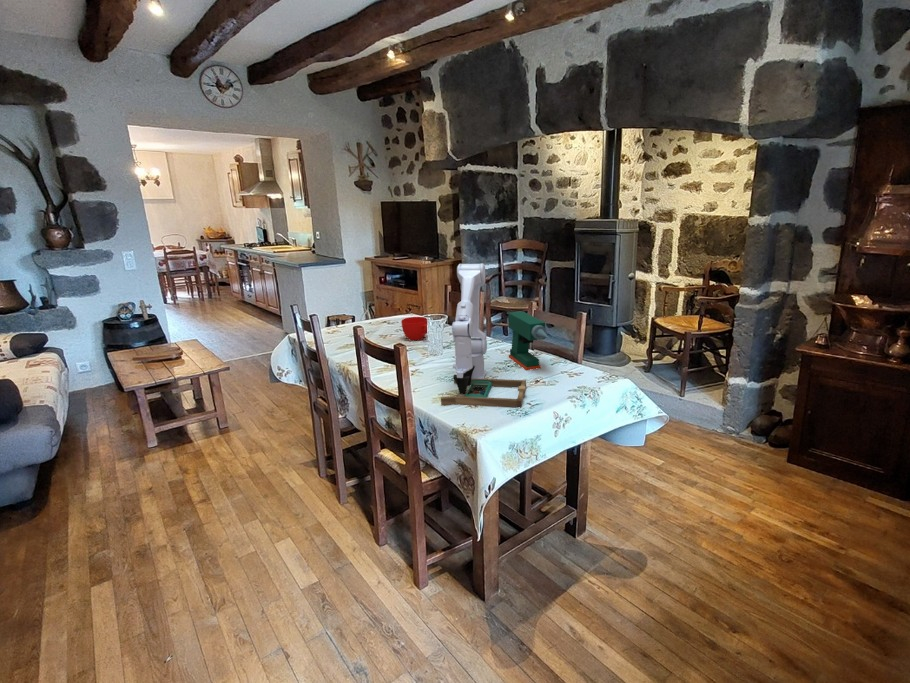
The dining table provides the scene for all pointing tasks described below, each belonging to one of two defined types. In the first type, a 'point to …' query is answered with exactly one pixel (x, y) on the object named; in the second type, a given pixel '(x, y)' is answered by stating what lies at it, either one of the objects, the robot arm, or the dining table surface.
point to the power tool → (525, 338)
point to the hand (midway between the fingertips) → (465, 389)
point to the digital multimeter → (479, 389)
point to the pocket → (490, 401)
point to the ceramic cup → (414, 327)
